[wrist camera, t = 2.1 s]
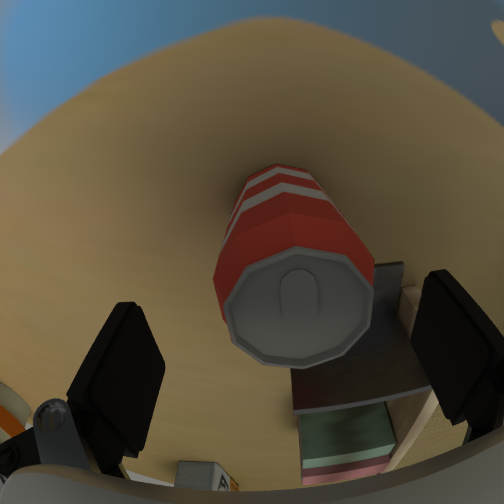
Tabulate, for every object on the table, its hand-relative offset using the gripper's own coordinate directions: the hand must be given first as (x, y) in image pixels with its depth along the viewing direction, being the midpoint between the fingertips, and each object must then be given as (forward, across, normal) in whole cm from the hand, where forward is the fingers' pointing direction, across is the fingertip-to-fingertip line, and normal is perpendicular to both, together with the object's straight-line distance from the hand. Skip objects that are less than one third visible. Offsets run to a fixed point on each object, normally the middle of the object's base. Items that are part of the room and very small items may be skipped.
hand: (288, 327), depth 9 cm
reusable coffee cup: (+14, +55, +32) cm, 66 cm away
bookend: (+12, -5, +9) cm, 16 cm away
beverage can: (+13, -1, 0) cm, 13 cm away
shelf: (+12, -7, +20) cm, 24 cm away
